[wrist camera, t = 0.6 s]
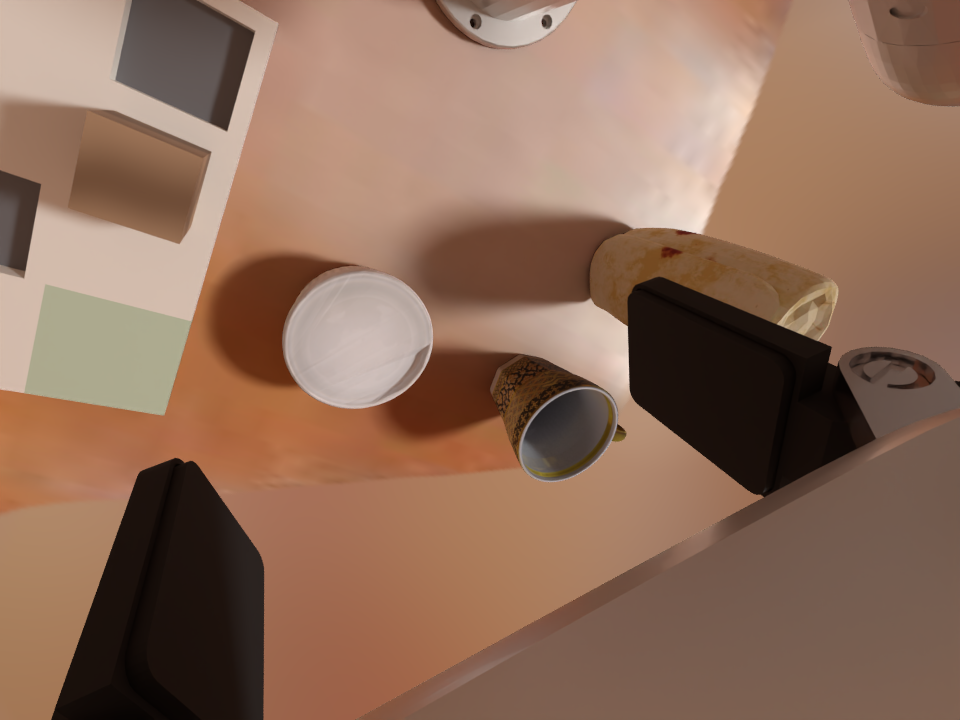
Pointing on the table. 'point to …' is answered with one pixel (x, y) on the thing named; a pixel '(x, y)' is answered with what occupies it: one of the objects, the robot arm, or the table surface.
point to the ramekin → (356, 337)
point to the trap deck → (93, 241)
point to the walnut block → (137, 175)
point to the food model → (712, 277)
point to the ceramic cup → (554, 417)
